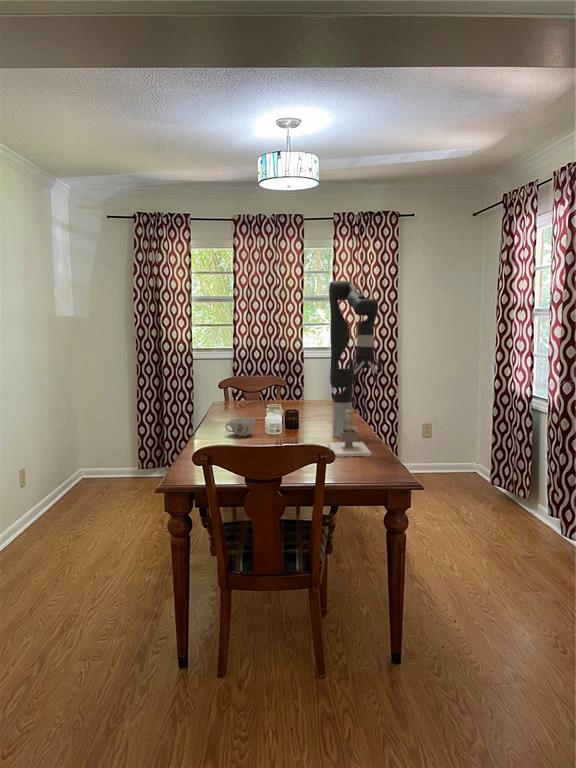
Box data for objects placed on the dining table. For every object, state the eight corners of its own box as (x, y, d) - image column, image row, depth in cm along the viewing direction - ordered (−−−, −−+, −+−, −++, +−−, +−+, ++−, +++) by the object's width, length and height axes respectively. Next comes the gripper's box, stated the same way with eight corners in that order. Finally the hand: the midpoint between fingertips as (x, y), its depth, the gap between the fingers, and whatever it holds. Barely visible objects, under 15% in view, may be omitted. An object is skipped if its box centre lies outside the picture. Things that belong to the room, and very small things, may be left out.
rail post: (344, 436, 258) (344, 410, 257) (351, 436, 258) (352, 409, 257) (345, 438, 255) (345, 411, 253) (353, 438, 255) (353, 411, 254)
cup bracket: (327, 445, 267) (327, 426, 266) (362, 445, 268) (362, 425, 267) (333, 457, 247) (333, 436, 246) (371, 456, 248) (371, 435, 247)
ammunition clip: (275, 469, 230) (275, 439, 228) (273, 467, 232) (273, 438, 230) (299, 465, 235) (299, 436, 233) (297, 464, 236) (297, 435, 235)
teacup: (251, 431, 297) (251, 416, 296) (258, 436, 285) (258, 420, 284) (222, 434, 292) (222, 418, 291) (228, 439, 280) (228, 423, 279)
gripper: (379, 344, 259) (379, 380, 261) (347, 344, 258) (347, 381, 260) (383, 345, 251) (382, 383, 253) (350, 346, 250) (350, 383, 253)
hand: (365, 382), depth 257 cm, fingers open, 8 cm apart
